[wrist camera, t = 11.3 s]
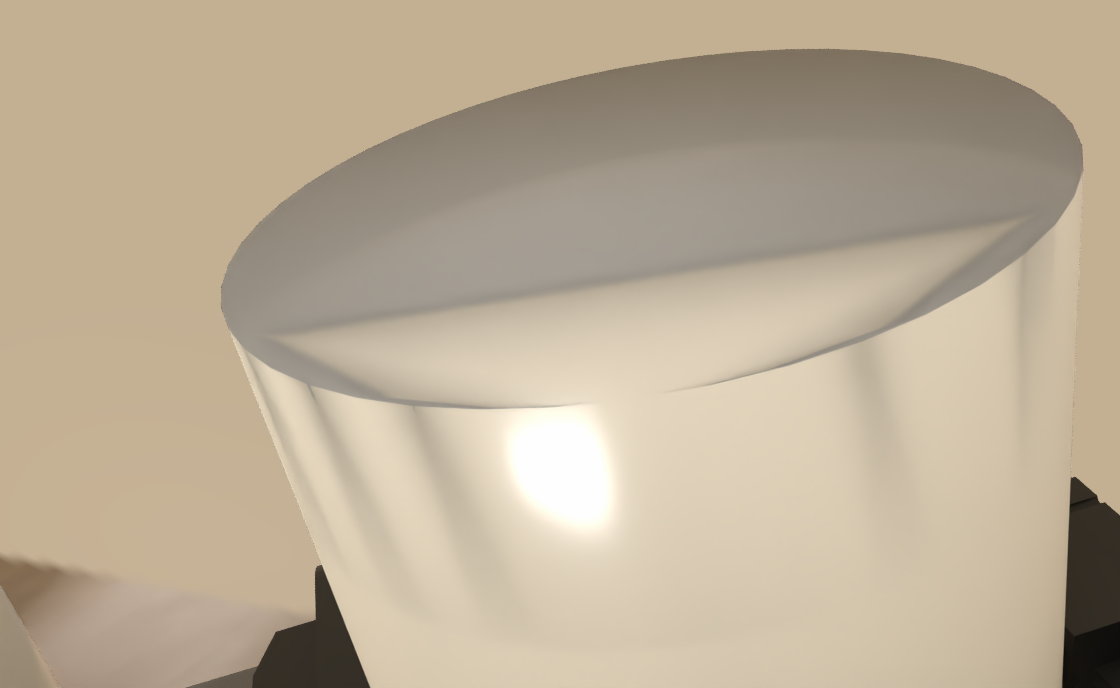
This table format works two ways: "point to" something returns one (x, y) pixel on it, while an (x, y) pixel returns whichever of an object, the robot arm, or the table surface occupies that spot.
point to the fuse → (20, 653)
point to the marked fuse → (687, 379)
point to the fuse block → (230, 680)
